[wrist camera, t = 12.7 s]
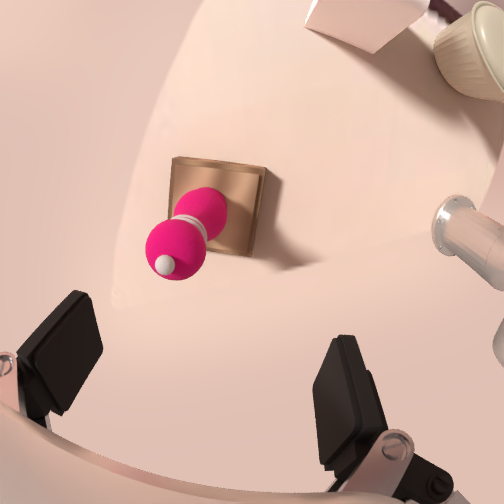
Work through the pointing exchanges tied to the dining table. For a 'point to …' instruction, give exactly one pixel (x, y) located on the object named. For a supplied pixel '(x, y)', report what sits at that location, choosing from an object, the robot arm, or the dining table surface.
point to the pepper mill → (186, 234)
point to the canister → (474, 53)
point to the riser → (234, 191)
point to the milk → (364, 20)
